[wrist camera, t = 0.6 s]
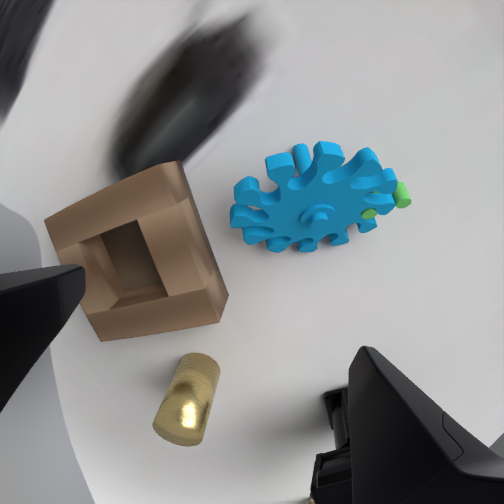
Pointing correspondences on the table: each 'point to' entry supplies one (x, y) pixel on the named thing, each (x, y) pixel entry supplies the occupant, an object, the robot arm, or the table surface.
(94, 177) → the table surface
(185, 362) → the pin
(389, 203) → the gear
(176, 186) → the socket block
